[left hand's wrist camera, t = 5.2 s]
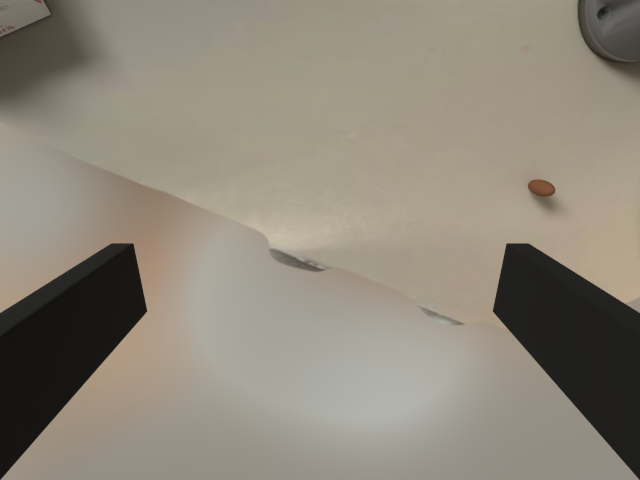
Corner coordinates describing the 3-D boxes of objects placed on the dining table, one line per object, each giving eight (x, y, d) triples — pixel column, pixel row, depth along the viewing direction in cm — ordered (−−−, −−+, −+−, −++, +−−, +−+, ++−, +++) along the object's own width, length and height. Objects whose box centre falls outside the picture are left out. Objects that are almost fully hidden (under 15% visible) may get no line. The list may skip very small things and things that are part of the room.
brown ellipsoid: (534, 174, 48) (557, 180, 43) (539, 185, 48) (563, 193, 44) (520, 182, 48) (542, 190, 44) (526, 193, 49) (548, 202, 44)
